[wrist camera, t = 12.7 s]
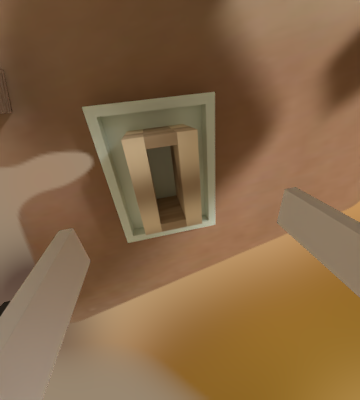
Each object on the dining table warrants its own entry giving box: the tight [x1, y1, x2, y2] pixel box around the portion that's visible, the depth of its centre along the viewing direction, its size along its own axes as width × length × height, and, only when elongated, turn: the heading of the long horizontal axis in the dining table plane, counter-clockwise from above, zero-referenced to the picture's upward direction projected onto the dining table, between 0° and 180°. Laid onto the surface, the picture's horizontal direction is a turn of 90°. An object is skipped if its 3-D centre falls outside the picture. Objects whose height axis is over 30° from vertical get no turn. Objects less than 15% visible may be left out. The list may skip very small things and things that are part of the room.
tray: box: [82, 92, 215, 243], centre depth 22 cm, size 17×13×3 cm
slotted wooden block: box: [121, 124, 202, 235], centre depth 20 cm, size 12×6×6 cm, turn 6°
